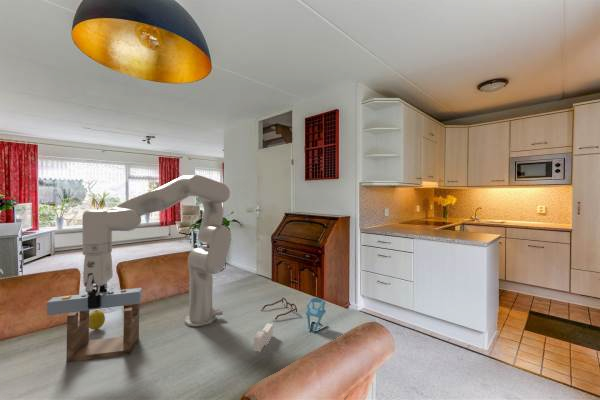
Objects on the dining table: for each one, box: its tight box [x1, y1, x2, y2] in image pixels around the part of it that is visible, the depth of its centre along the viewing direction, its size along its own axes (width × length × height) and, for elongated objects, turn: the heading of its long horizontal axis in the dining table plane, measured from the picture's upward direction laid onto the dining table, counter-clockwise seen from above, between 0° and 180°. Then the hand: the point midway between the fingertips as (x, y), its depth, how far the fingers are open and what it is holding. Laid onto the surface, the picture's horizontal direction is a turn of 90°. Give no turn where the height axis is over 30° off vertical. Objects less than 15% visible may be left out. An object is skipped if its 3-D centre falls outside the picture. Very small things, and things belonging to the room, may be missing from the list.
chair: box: [305, 297, 327, 332], centre depth 113 cm, size 8×8×12 cm
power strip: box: [46, 287, 143, 316], centre depth 86 cm, size 24×4×4 cm, turn 113°
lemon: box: [89, 309, 106, 331], centre depth 106 cm, size 6×6×8 cm
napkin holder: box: [253, 322, 274, 353], centre depth 100 cm, size 15×11×6 cm
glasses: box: [261, 297, 298, 320], centre depth 127 cm, size 13×13×5 cm
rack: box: [65, 304, 140, 363], centre depth 93 cm, size 18×10×15 cm, turn 106°
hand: (97, 304), depth 86 cm, fingers closed on power strip, 4 cm apart
